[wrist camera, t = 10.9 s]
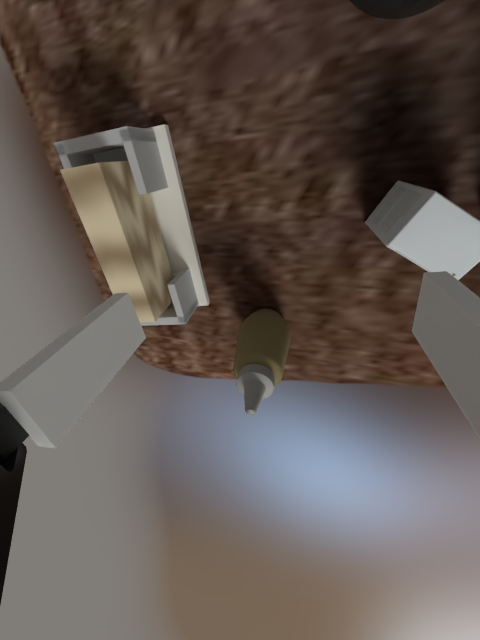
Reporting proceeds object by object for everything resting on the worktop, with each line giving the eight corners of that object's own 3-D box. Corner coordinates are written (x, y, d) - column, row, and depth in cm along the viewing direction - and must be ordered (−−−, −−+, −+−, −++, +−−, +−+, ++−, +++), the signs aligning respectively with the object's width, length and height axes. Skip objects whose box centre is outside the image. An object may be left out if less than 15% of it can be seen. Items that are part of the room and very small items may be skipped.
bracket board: (83, 143, 35) (40, 142, 29) (167, 124, 32) (139, 119, 26) (144, 305, 47) (123, 327, 41) (209, 302, 44) (196, 325, 38)
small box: (451, 214, 32) (510, 238, 23) (413, 254, 35) (452, 288, 26) (397, 178, 31) (437, 188, 22) (362, 221, 34) (385, 246, 25)
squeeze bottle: (234, 310, 44) (201, 392, 29) (280, 294, 41) (269, 376, 26) (254, 348, 48) (234, 438, 33) (298, 335, 45) (298, 429, 30)
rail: (107, 166, 33) (59, 169, 27) (139, 160, 32) (98, 162, 26) (151, 295, 43) (124, 322, 36) (178, 294, 42) (155, 321, 35)
